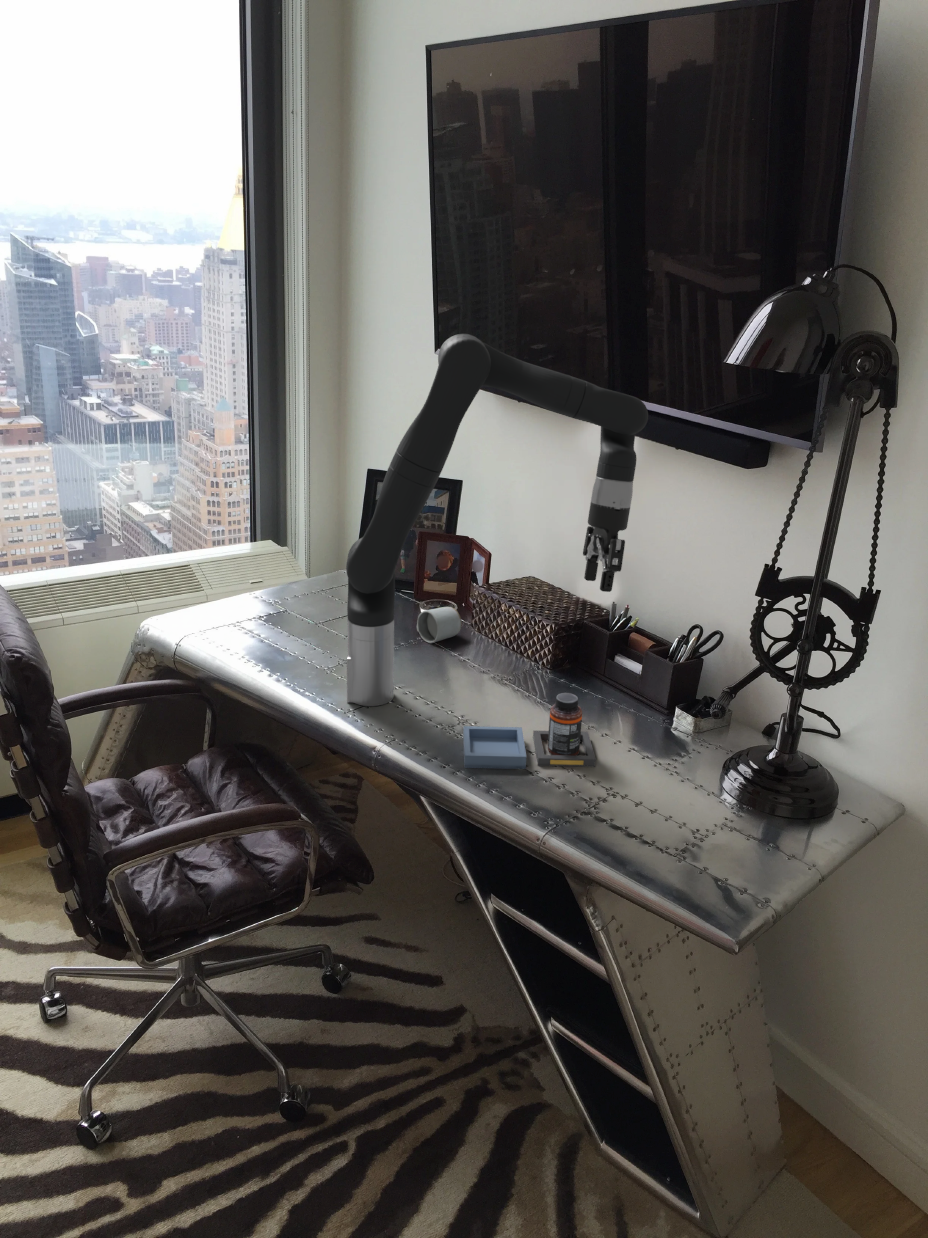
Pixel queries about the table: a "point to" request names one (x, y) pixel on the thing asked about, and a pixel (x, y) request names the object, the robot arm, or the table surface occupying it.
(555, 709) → the supplement bottle
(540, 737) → the frame
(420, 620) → the ceramic mug
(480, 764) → the tray
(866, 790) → the table surface
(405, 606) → the table surface
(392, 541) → the robot arm
